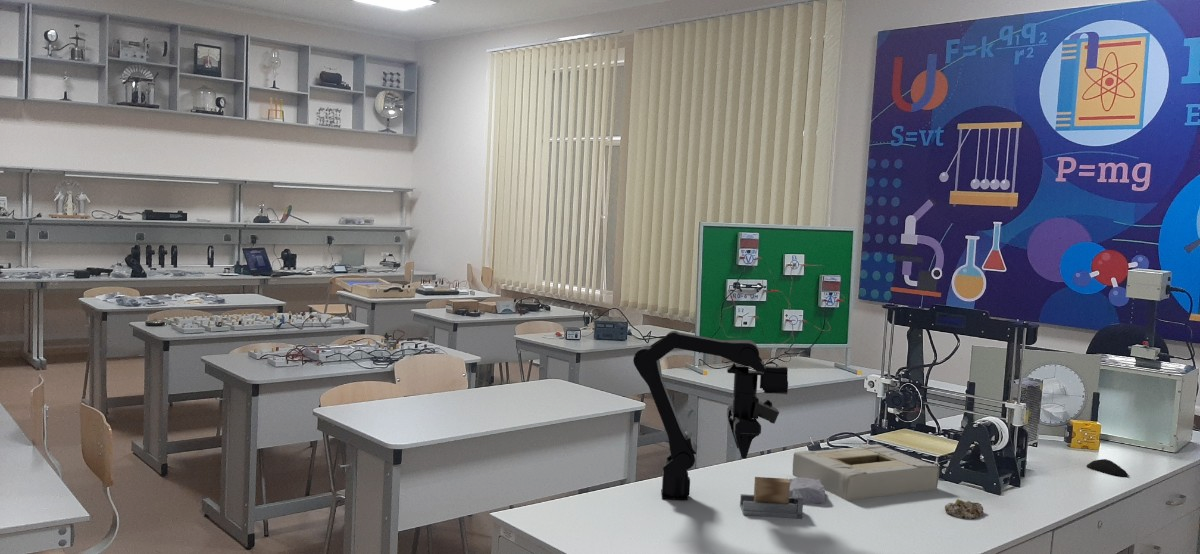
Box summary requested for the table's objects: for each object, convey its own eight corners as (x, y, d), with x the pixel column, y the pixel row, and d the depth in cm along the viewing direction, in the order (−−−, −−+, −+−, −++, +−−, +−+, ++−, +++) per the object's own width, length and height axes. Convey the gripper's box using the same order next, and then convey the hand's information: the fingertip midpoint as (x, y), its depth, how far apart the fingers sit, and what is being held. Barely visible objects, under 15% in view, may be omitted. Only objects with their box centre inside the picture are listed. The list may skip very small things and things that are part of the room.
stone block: (788, 509, 222) (828, 504, 221) (786, 490, 222) (825, 485, 221) (783, 496, 233) (821, 491, 232) (780, 478, 233) (818, 473, 232)
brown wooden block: (754, 508, 212) (756, 480, 211) (753, 504, 215) (755, 476, 214) (788, 510, 211) (790, 482, 211) (786, 506, 214) (787, 478, 214)
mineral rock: (961, 512, 212) (940, 494, 219) (956, 528, 214) (935, 508, 221) (996, 511, 216) (974, 492, 223) (990, 526, 217) (969, 507, 224)
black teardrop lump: (1128, 482, 255) (1129, 469, 254) (1081, 468, 268) (1082, 455, 268) (1142, 481, 257) (1143, 467, 257) (1095, 466, 271) (1096, 454, 270)
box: (847, 503, 224) (938, 490, 238) (848, 474, 223) (940, 462, 237) (790, 478, 245) (877, 467, 259) (791, 451, 244) (878, 442, 258)
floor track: (743, 515, 210) (744, 494, 209) (739, 505, 217) (740, 485, 216) (802, 518, 209) (803, 497, 209) (796, 508, 216) (797, 488, 216)
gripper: (784, 401, 208) (780, 465, 209) (771, 385, 226) (768, 445, 227) (737, 398, 208) (733, 463, 209) (728, 383, 226) (725, 442, 228)
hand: (741, 453), depth 218 cm, fingers open, 9 cm apart
